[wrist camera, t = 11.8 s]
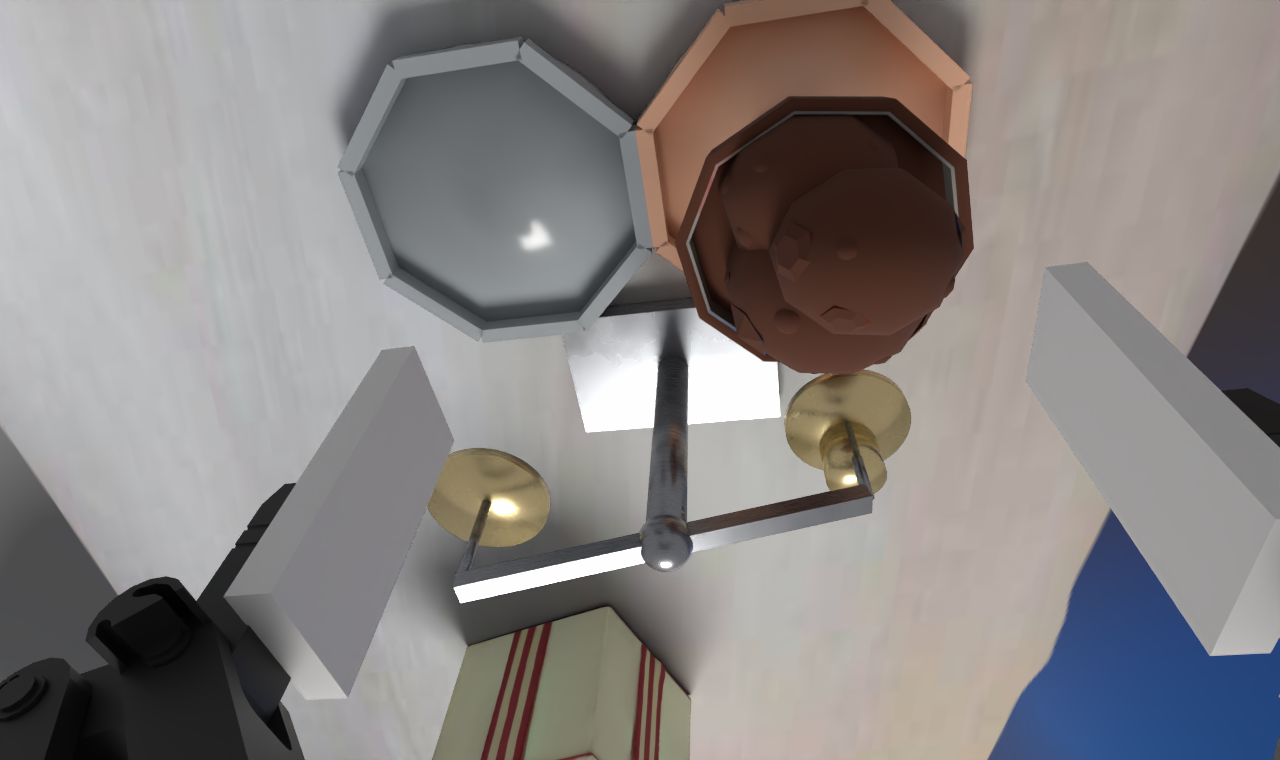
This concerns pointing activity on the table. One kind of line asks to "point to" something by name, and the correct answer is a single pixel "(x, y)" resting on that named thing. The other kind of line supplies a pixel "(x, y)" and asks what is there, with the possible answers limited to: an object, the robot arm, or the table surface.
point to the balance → (671, 448)
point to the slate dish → (498, 190)
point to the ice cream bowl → (826, 232)
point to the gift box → (566, 697)
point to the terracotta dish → (785, 86)
